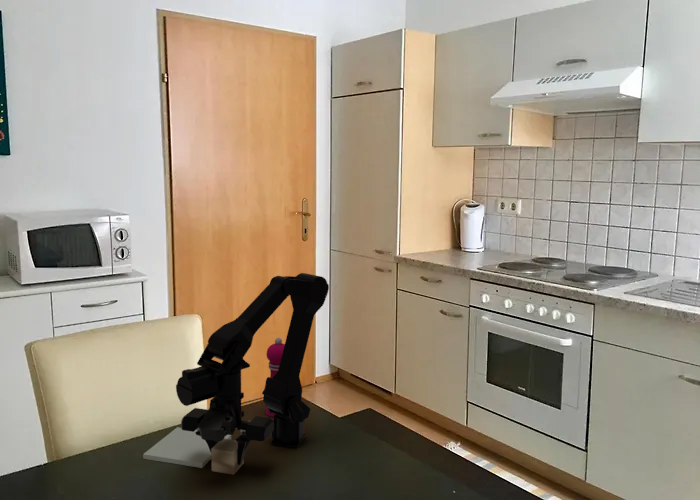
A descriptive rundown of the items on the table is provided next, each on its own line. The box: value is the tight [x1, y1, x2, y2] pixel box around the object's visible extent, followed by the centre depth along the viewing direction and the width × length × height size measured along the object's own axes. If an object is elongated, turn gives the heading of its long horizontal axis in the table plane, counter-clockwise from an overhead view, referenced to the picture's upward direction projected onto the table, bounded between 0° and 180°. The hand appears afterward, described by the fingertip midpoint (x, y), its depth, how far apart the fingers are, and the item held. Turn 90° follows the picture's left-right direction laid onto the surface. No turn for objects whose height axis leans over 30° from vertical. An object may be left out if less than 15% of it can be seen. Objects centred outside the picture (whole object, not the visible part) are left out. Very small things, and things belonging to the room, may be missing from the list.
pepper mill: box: [265, 337, 285, 418], centre depth 153 cm, size 7×7×20 cm
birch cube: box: [211, 438, 245, 476], centre depth 126 cm, size 5×5×5 cm
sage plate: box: [142, 426, 232, 469], centre depth 134 cm, size 14×14×1 cm
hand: (228, 462), depth 126 cm, fingers closed on birch cube, 5 cm apart
